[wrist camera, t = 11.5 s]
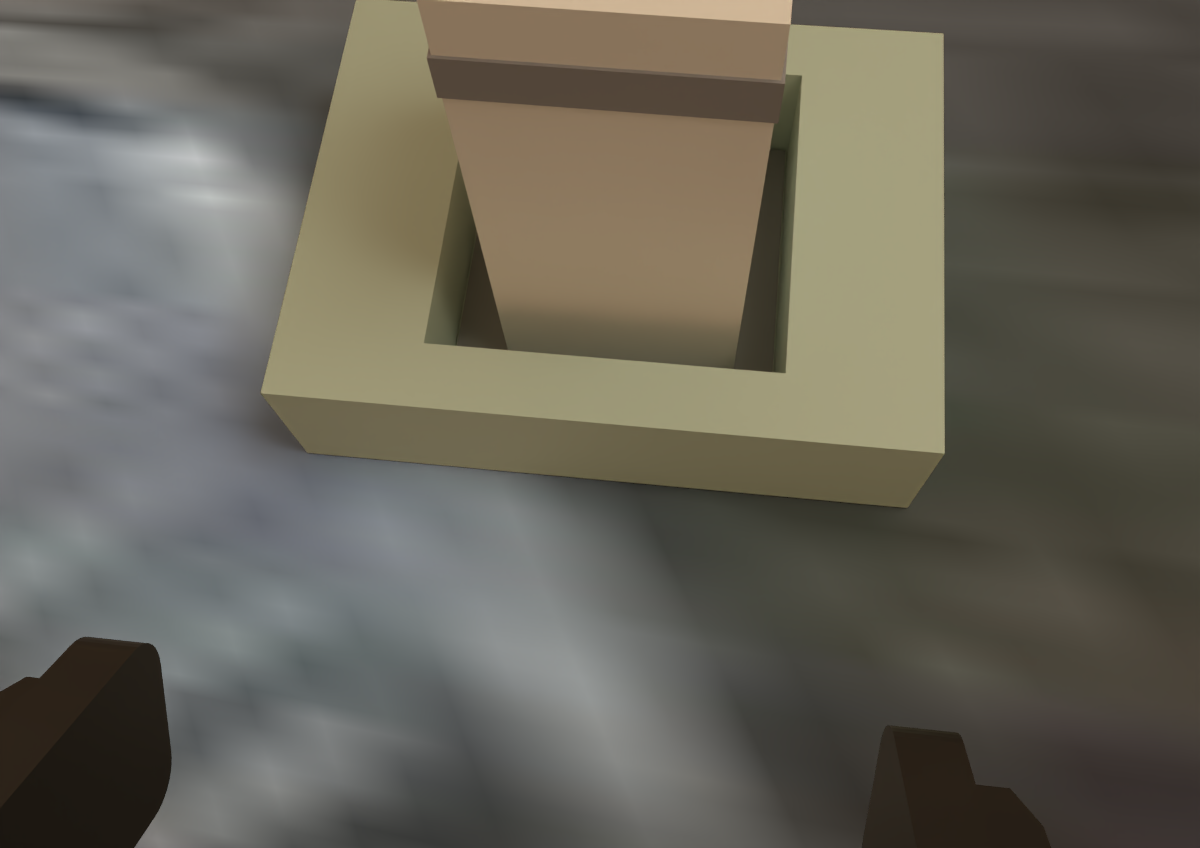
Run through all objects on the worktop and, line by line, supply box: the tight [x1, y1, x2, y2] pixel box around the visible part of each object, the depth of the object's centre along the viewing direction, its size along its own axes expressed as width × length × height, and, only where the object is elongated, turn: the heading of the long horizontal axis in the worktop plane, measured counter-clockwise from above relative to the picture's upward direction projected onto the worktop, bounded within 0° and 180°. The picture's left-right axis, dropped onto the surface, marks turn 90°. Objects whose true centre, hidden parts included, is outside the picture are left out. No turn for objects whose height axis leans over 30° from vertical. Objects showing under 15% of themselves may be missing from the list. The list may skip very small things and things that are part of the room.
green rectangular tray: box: [261, 0, 945, 508], centre depth 23 cm, size 12×9×3 cm
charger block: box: [417, 0, 792, 369], centre depth 18 cm, size 5×5×12 cm
